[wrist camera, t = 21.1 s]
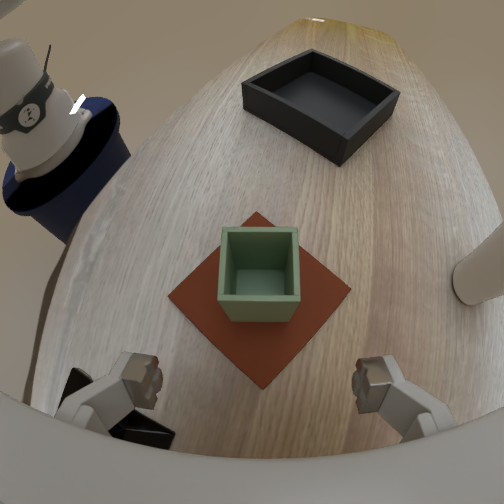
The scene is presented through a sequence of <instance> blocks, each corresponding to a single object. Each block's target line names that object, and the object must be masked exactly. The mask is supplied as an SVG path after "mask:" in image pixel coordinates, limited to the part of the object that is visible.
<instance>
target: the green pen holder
mask: <svg viewBox="0 0 504 504" xmlns="http://www.w3.org/2000/svg"><path fill="white" fill-rule="evenodd" d="M217 301H218V302H219V304H220V305H221V307H222V308H223V310H224V311H225V313H226V314H227V316H228V317H229V319H230V320H231V321H234V322H289V321H290V319H291V317H292V315H293V314H294V312H295V310H296V308H297V307H298V305H299V303H300V301H301V300H300V267H299V244H298V227H222V235H221V249H220V263H219V278H218V295H217Z"/></svg>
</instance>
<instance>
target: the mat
mask: <svg viewBox="0 0 504 504" xmlns="http://www.w3.org/2000/svg"><path fill="white" fill-rule="evenodd" d="M240 227H275V226H274V225H273V224H272V223H270V222H269V221H268V220H267V219H265V218H264V217H263V216H262V215H260V214H259V213H258V212H255V213H254V214H253V215H252V216H251V217H250V218H249V219H247V220H246V221H245V222H244V223H243V224H242V225H241V226H240ZM220 249H221V245H220V246H219V247H218V248H217V249H216V250H215V251H214V252H213V253H211V254H210V255H209V256H208V257H207V258H206V259H205V260H204V261H203V262H202V263H201V264H200V265H199V266H198V267H197V268H196V269H195V270H194V271H193V272H192V273H191V274H190V275H189V276H188V277H187V278H186V279H185V280H184V281H183V282H181V283H180V284H179V285H178V286H177V287H176V288H175V289H174V290H173V291H172V292H171V293H170V294H169V295H168V297H169V298H170V300H171V301H172V302H173V303H174V304H175V305H176V306H177V307H178V308H179V309H180V310H181V311H182V312H183V313H184V315H185V316H186V317H187V318H188V319H189V320H190V321H191V322H192V323H193V324H194V325H195V326H196V327H197V328H198V329H199V330H200V331H201V332H202V333H203V334H204V335H205V336H206V337H207V338H208V339H209V340H210V341H211V342H212V343H213V344H214V345H215V346H216V347H217V348H218V349H219V350H220V351H221V352H222V353H223V354H224V355H225V356H226V357H227V358H229V359H230V360H231V361H232V362H233V363H234V364H235V365H236V366H237V367H238V368H239V369H240V370H241V371H242V372H244V373H245V374H246V375H247V376H248V377H249V378H250V379H251V380H252V381H253V382H255V383H256V384H257V385H258V386H259V387H260V388H261V389H264V388H265V387H266V386H267V385H268V384H269V383H270V382H271V381H272V380H273V379H274V378H275V377H276V376H277V375H278V374H279V373H280V372H281V371H282V370H283V369H284V368H285V366H286V365H287V364H288V363H289V362H290V361H291V360H292V359H293V358H294V357H295V356H296V354H297V353H298V352H299V351H300V350H301V349H302V348H303V347H304V346H305V344H306V343H307V342H308V341H309V340H310V339H311V338H312V336H313V335H314V334H315V333H316V332H317V331H318V329H319V328H320V327H321V326H322V325H323V324H324V322H325V321H326V320H327V319H328V318H329V316H330V315H331V314H332V313H333V311H334V310H335V309H336V308H337V307H338V305H339V304H340V303H341V302H342V300H343V299H344V298H345V297H346V295H347V294H348V293H349V291H350V290H351V288H350V287H349V286H348V285H346V284H345V283H344V282H343V281H342V280H340V279H339V278H338V277H337V276H336V275H334V274H333V273H332V272H331V271H330V270H328V269H327V268H326V267H325V266H324V265H322V264H321V263H320V262H319V261H318V260H316V259H315V258H314V257H313V256H311V255H310V254H309V253H308V252H307V251H305V250H304V249H303V248H302V247H300V246H299V267H300V300H301V301H300V303H299V305H298V307H297V308H296V310H295V312H294V314H293V315H292V317H291V319H290V321H289V322H234V321H231V320H230V319H229V317H228V316H227V314H226V313H225V311H224V310H223V308H222V307H221V305H220V304H219V302H218V301H217V295H218V278H219V263H220Z"/></svg>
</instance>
